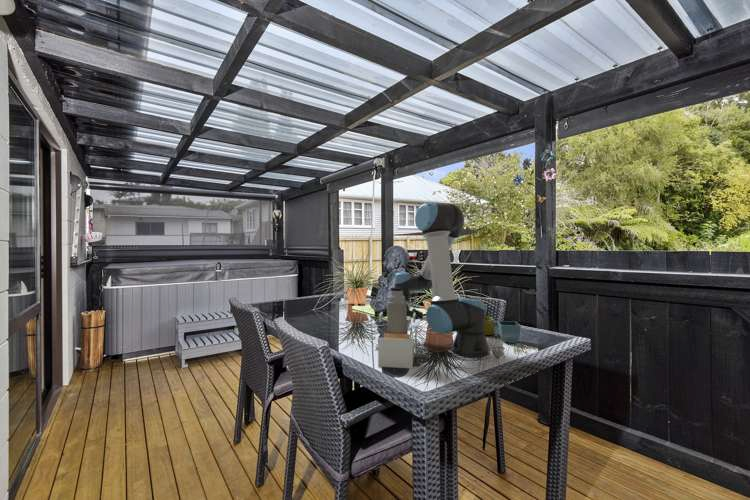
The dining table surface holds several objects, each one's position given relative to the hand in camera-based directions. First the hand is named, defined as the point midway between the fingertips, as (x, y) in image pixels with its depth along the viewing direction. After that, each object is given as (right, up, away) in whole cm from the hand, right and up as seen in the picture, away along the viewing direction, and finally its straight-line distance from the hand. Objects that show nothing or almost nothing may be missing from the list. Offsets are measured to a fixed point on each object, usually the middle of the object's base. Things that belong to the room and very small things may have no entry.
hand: (396, 318), depth 140 cm
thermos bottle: (0, -16, +4) cm, 17 cm away
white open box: (0, -17, +2) cm, 17 cm away
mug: (+46, -16, +41) cm, 64 cm away
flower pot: (+55, -16, +27) cm, 63 cm away
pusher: (0, -16, -2) cm, 16 cm away
